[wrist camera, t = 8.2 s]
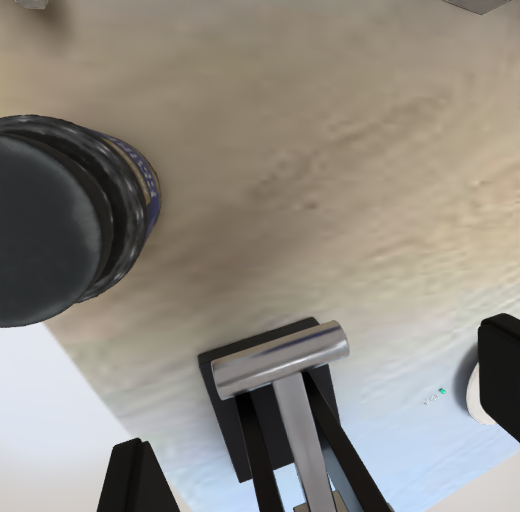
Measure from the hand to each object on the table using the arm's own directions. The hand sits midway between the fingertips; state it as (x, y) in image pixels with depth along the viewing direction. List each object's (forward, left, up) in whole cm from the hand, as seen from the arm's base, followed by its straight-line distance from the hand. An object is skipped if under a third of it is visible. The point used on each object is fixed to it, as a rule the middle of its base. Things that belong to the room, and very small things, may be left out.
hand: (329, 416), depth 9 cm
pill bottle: (-7, -6, -13) cm, 16 cm away
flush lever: (+5, 0, -4) cm, 7 cm away
